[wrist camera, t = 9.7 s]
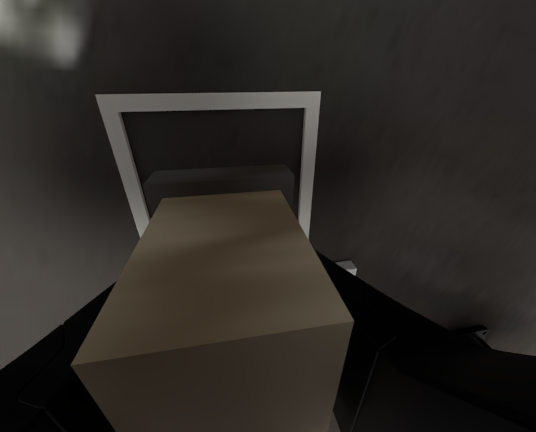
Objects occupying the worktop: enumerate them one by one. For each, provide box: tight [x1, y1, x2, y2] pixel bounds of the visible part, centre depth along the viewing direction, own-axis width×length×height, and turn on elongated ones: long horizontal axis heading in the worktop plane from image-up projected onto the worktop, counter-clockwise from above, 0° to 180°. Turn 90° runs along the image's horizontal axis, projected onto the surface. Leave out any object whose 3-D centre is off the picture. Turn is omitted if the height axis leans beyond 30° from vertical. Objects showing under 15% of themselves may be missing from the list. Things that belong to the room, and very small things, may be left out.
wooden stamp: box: [71, 164, 354, 432], centre depth 7 cm, size 5×5×7 cm
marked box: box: [95, 91, 321, 239], centre depth 13 cm, size 10×10×1 cm
